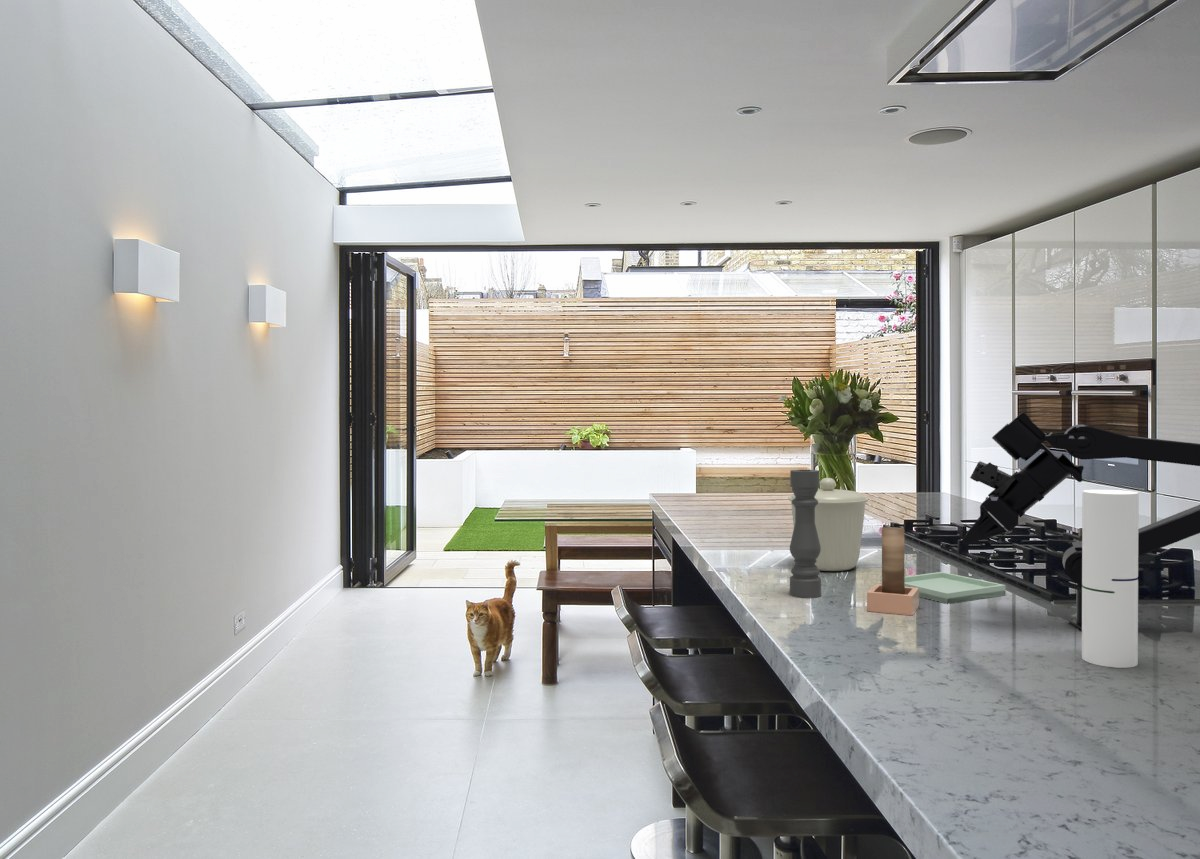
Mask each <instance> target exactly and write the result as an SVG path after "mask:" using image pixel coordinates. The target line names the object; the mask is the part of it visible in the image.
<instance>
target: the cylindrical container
mask: <svg viewBox="0 0 1200 859" xmlns="http://www.w3.org/2000/svg"><path fill="white" fill-rule="evenodd" d="M1081 493H1082V511H1081V512H1082V516H1081V517H1082V518H1081V519H1082V521H1081V524H1082V525H1081V526H1082V527H1081V529H1082V531H1081V535H1082V536H1081V541H1082V585H1083V586H1082V630H1081V659H1082V660H1083V661H1085V662H1087V663H1090V664H1092V665H1096V666H1101V667H1108V668H1119V669H1124V668H1125V669H1127V668H1133V667H1134V668H1135V667H1137V666H1138V664H1139V662H1138V661H1139V658H1138V657H1139V656H1138V653H1139V652H1138V651H1139V648H1138V647H1139V643H1138V642H1139V635H1138V634H1139V578H1138V577H1139V557H1138V529H1139V501H1140V500H1139V496H1140V495H1139V492H1138V491H1133V490H1123V489H1122V490H1120V489H1084V490H1082V492H1081Z"/></svg>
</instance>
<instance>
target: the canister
mask: <svg viewBox="0 0 1200 859" xmlns="http://www.w3.org/2000/svg"><path fill="white" fill-rule="evenodd" d="M819 487H820V488H818V491H817V492H816V495H815V499H817V500H818V504H817V505H816V507H815V525H816V529H817V533H818V538H819V542H820V546H821V551H820V554H819V556H818V558H817V559H816V560H817V561H816V563H815V565H816V566H817V568H818V569H819V570H820V572H844V571H849V570H852V569H854V568H855V567H856V566H857V564H858V562H859V560H860V559H859V558H860V553H861V547H862V539H863V528H864V521H865V511H866V503H867V502H868V501H869V498H868V497H866V496H864V495H863V494H862V493H860V492H858V491H854V490H848V489H836V488H835V487H836V481H835V479H834V478H832V477H824V478H822V479H821V480H819ZM794 498H795V495H794V493H793V494H792V495H790V496H788V499H787V500H789V501H790V505H791V514H792V522H793V527H794V526H795V507H794V505H793V504H792V500H793V499H794Z"/></svg>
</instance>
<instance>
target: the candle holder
mask: <svg viewBox="0 0 1200 859" xmlns="http://www.w3.org/2000/svg"><path fill="white" fill-rule="evenodd" d="M789 474H790V479H789V480H790V487H791V491H792V493H793V494H794V495H795V498H794V499H793V500H792V504H793V505H794V507H795V526H794V525H793V531H792V535H791V539H790V543H789V553H790V554H791V556H792V557H793V561H794V563H795V564H793V565H794V566H793V567H792V568H791V570H790V573H791V574H792V575H791V576H790V577H789V595H790V596H791V597H796V598H802V599H811V598H812V599H814V598H820V597H822V578H821V577H820V576H819V575H820V572H821V571H820V570H819V569H818V568H817V566H816V565H815V563H816V561H817V560H816V559H817V558H818V556H819V554H820V551H821V546H820V542H819V538H818V533H817V529H816V525H815V507H816V505H817V504H818V500H817V499H815V495H816V492H817V491H818V489H819V488H820V470H819V469H791V470H790V473H789Z"/></svg>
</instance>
